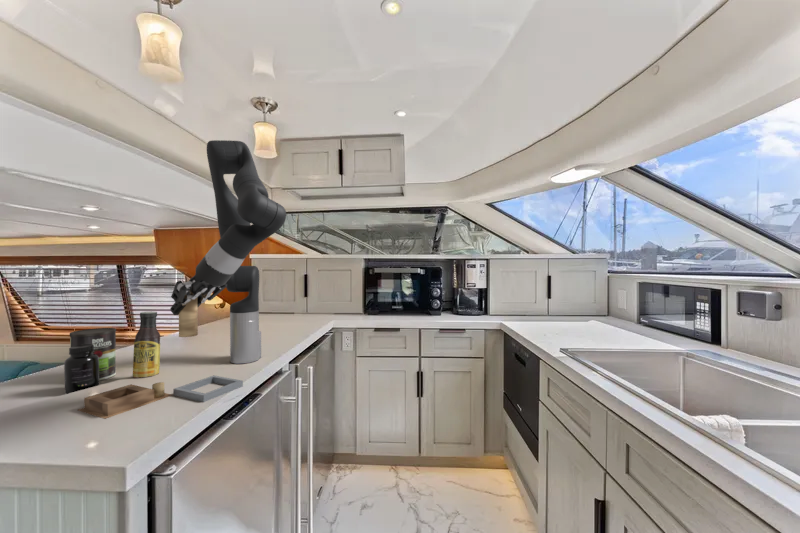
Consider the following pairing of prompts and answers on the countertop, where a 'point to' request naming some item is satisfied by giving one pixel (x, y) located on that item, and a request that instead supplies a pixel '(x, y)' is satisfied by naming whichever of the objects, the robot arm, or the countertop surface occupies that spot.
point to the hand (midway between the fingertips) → (181, 311)
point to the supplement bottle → (81, 368)
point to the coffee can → (99, 347)
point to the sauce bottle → (147, 347)
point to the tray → (203, 397)
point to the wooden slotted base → (122, 400)
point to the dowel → (189, 319)
